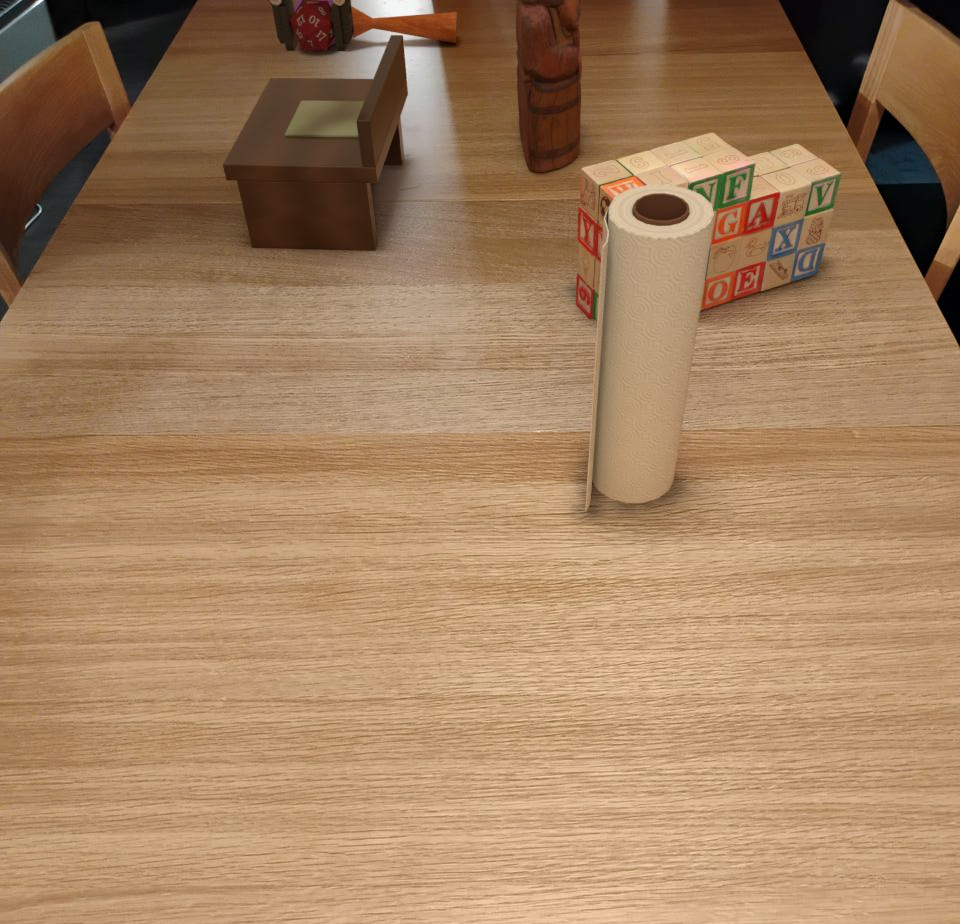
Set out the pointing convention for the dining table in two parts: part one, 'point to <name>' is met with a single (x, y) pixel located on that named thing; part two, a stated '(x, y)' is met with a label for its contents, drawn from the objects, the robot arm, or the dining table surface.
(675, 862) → the dining table surface
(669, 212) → the paper towel roll
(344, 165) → the miniature wooden chair
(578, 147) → the wooden figurine
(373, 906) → the dining table surface
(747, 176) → the stack of blocks
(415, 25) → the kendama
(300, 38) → the dice
